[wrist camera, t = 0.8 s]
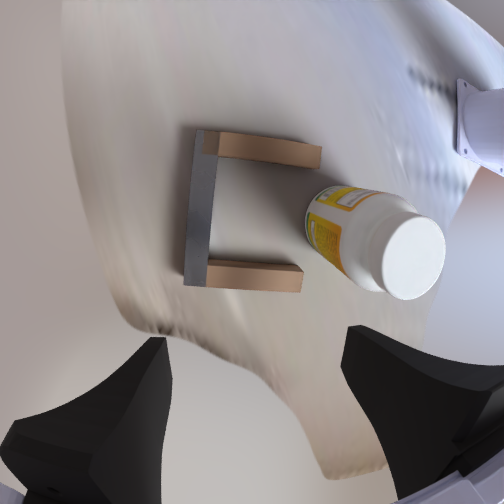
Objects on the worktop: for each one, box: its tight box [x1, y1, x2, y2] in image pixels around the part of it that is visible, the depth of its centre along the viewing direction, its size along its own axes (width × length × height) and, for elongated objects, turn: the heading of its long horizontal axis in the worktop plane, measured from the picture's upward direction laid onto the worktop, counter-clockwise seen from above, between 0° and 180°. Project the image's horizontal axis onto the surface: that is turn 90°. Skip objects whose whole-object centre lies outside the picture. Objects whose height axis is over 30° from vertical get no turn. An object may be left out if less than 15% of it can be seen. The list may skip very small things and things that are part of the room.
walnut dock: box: [184, 130, 322, 292], centre depth 19 cm, size 8×10×2 cm
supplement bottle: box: [305, 186, 445, 300], centre depth 16 cm, size 5×5×10 cm
